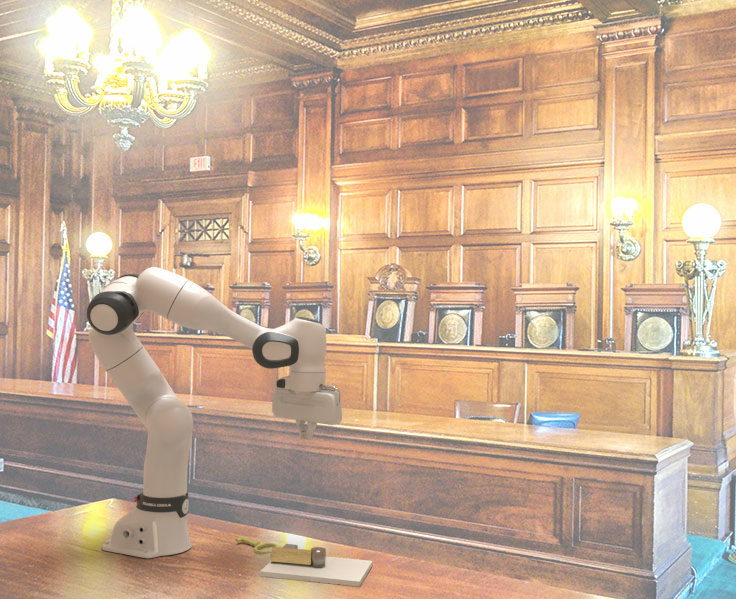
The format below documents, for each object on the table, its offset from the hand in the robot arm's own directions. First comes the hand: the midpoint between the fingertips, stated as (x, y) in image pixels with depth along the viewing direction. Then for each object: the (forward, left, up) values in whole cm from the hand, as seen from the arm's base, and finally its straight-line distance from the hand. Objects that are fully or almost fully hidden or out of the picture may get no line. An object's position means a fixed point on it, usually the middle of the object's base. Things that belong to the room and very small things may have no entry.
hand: (305, 438), depth 197 cm
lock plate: (+5, -3, -31) cm, 32 cm away
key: (-15, +9, -32) cm, 36 cm away
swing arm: (0, -4, -30) cm, 30 cm away
